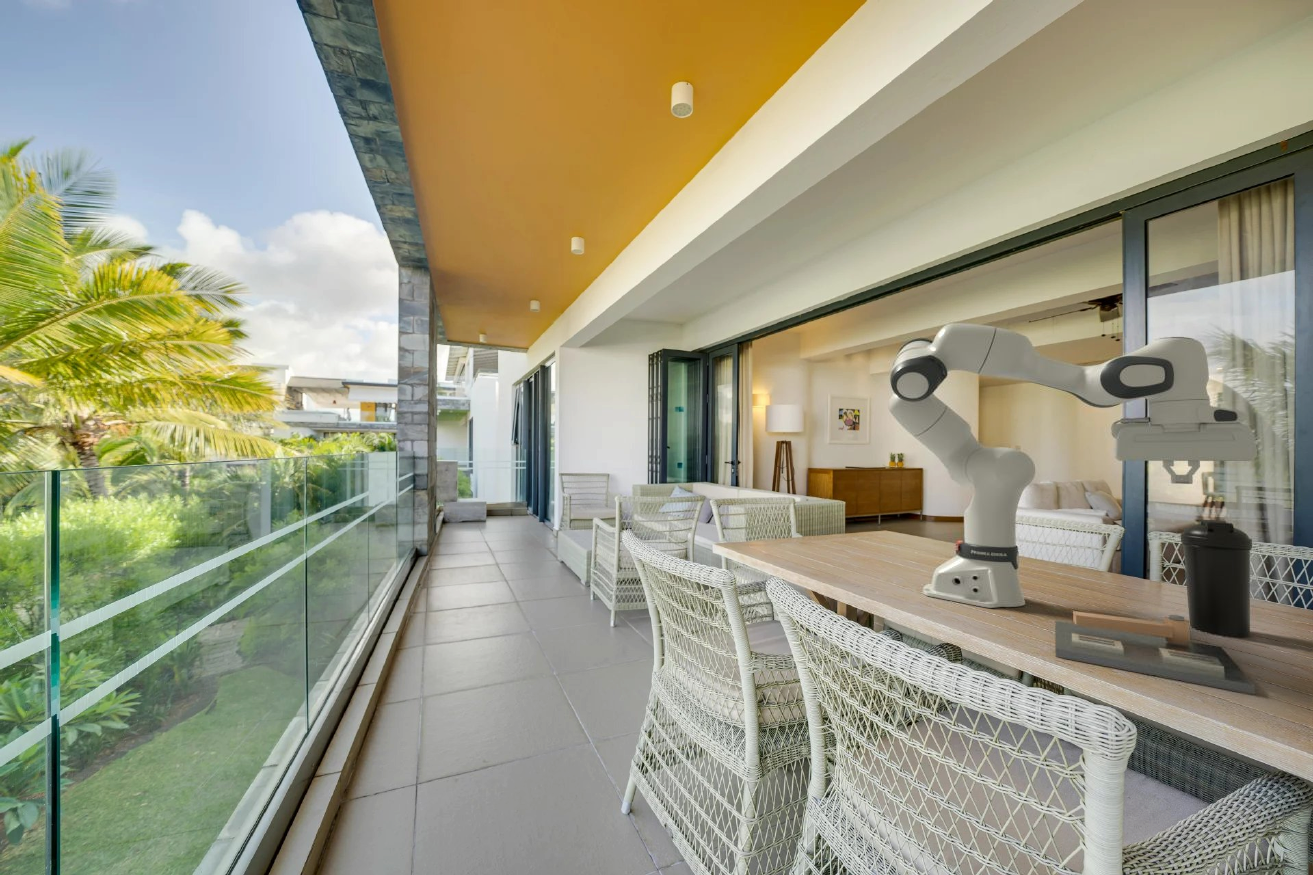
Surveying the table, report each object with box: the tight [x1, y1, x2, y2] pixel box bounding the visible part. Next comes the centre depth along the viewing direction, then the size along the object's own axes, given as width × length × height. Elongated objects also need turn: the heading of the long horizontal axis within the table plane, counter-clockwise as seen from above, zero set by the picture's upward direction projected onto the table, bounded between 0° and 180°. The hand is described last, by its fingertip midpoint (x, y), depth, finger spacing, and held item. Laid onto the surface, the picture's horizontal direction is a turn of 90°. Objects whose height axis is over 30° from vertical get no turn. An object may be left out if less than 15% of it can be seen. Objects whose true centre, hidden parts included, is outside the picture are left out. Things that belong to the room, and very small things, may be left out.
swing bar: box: [1072, 610, 1191, 646], centre depth 98 cm, size 17×3×5 cm, turn 59°
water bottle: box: [1180, 519, 1253, 639], centre depth 107 cm, size 10×10×23 cm
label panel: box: [1054, 620, 1256, 696], centre depth 93 cm, size 24×20×3 cm
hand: (1181, 483), depth 103 cm, fingers closed
